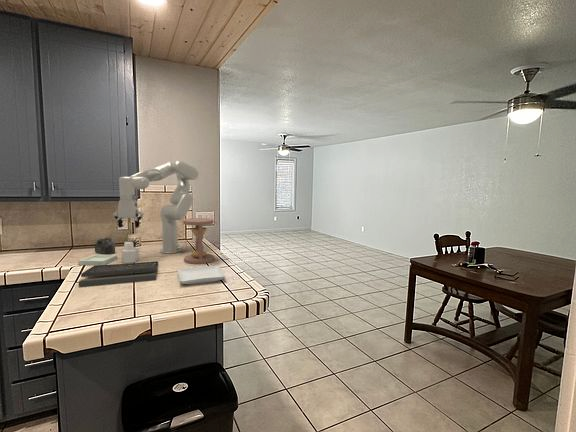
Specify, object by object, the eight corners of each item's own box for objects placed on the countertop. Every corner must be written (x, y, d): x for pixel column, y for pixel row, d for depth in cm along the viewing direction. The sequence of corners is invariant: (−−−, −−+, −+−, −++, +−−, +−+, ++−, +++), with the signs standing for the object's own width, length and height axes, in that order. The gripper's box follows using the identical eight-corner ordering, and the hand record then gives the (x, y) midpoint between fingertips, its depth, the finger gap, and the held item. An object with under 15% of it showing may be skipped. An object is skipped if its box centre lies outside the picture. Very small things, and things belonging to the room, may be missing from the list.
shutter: (94, 278, 163) (79, 291, 134) (93, 265, 163) (77, 275, 134) (158, 270, 175) (156, 280, 146) (157, 258, 175) (155, 266, 146)
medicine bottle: (127, 259, 181) (126, 240, 179) (139, 259, 181) (138, 240, 180) (121, 262, 174) (120, 242, 172) (134, 262, 174) (133, 242, 173)
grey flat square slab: (176, 274, 156) (176, 268, 156) (218, 270, 164) (218, 264, 164) (179, 288, 137) (179, 280, 136) (226, 282, 145) (226, 276, 145)
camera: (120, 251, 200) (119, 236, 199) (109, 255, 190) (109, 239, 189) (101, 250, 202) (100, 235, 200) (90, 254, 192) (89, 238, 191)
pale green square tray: (117, 259, 181) (117, 255, 181) (103, 265, 167) (103, 261, 167) (94, 258, 181) (94, 254, 181) (78, 265, 167) (78, 260, 167)
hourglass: (213, 263, 176) (213, 221, 173) (182, 264, 173) (181, 221, 170) (214, 256, 193) (214, 217, 191) (186, 257, 190) (185, 217, 187)
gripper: (145, 198, 177) (146, 226, 179) (116, 197, 177) (117, 226, 179) (139, 198, 169) (140, 228, 171) (108, 198, 169) (110, 228, 171)
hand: (128, 227), depth 175 cm, fingers open, 9 cm apart
